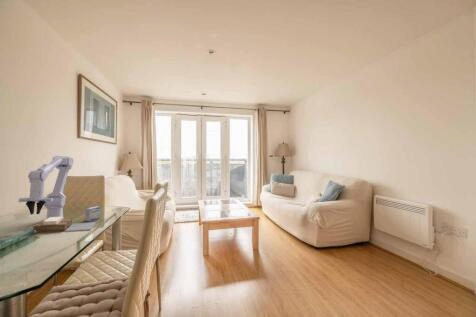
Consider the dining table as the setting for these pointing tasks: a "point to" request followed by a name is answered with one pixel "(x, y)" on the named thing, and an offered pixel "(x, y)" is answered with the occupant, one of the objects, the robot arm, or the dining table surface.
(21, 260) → the dining table surface
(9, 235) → the dining table surface
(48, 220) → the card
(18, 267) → the dining table surface
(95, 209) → the medicine box
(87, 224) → the mat
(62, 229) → the brown wooden tray
